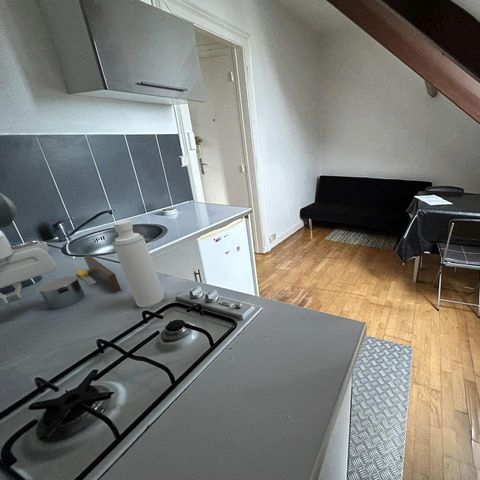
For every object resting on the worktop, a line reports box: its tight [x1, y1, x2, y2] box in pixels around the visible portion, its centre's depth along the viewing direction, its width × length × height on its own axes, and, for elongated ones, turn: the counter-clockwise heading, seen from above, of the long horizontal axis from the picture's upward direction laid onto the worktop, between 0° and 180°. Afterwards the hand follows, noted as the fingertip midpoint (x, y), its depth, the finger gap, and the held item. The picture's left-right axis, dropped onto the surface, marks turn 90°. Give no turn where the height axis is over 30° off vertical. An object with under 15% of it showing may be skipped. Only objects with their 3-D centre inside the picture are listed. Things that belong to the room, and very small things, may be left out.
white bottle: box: [112, 219, 165, 308], centre depth 69 cm, size 7×7×25 cm
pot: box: [38, 275, 86, 311], centre depth 75 cm, size 8×10×6 cm
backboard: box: [83, 254, 122, 293], centre depth 85 cm, size 2×26×6 cm, turn 53°
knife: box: [76, 268, 98, 286], centre depth 88 cm, size 2×14×1 cm, turn 54°
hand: (14, 300), depth 67 cm, fingers closed
